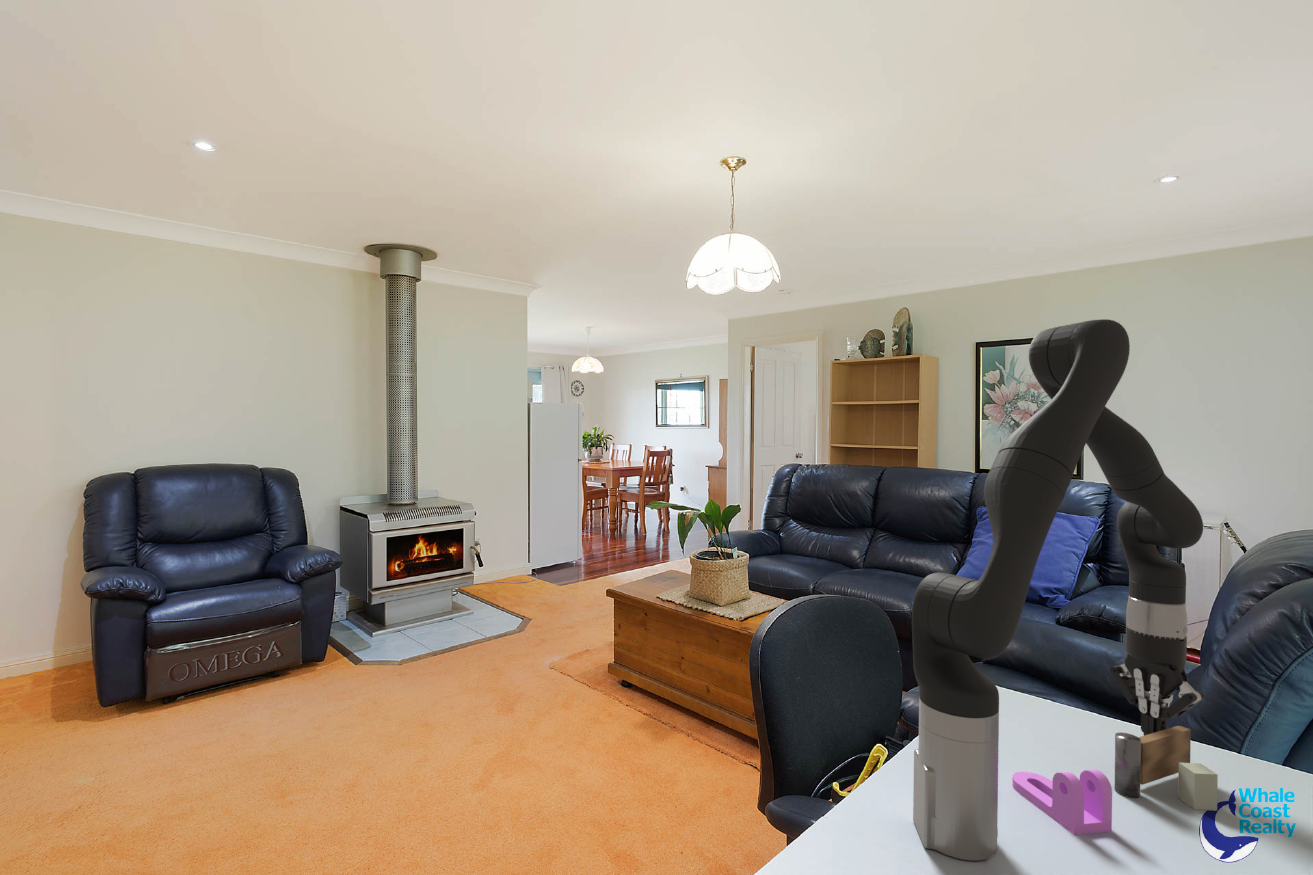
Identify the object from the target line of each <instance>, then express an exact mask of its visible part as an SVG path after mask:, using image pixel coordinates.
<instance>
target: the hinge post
mask: <svg viewBox="0 0 1313 875" xmlns="http://www.w3.org/2000/svg"><path fill="white" fill-rule="evenodd" d="M1114 735H1115V736H1114V739H1115V740H1114V791H1115V792H1116V793H1117V794H1118V795H1121V796H1123V797H1127V798H1130V799H1138V798H1140V797H1141V784H1140V766H1141V739H1140V738H1138V737H1139V736H1136V735H1134V734H1131V733H1128V732H1116V733H1115V734H1114Z"/></svg>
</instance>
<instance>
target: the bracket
mask: <svg viewBox="0 0 1313 875" xmlns="http://www.w3.org/2000/svg"><path fill="white" fill-rule="evenodd" d="M1011 776H1012V777H1011V778H1012V779H1011V780H1012V782H1011V783H1012V784H1011V785H1012V788H1013V790H1014V791H1016V792H1017V793H1018V794H1020V795H1021V796H1022V797H1023V798H1025V799H1026V800H1027V801H1029V802H1030V803H1032V805H1034V806H1036V807H1037V808H1038V809H1039V810H1041V811H1042V812H1044V813H1045V814H1046V815H1047V816H1049V817H1050V818H1052V820H1054V821H1055V822H1057V823H1058V824H1059V825H1061V826H1062V827H1064V828H1065V829H1066V830H1067V831H1069V832H1070V833H1071V834H1073V836H1074V835H1085V834H1094V833H1104V832H1112V831H1113V830H1112V828H1113V826H1112V825H1113V824H1112V823H1113V822H1112V821H1113V789H1112V785H1111V782H1110V780H1109V778H1108V777H1107V776H1106V775H1105V774H1104V773H1103V772H1102V771H1100V770H1098V769H1088V770H1087V769H1086V770H1082V772H1080V774H1079V778H1078V776H1076V775H1075V774H1074V773H1073V772H1071V771H1062V772H1056V773H1055V774H1054V775H1053V777H1052V779H1051V778H1048V777H1046V776H1044V775H1042V774H1038V773H1034V772H1029V771H1017V772H1015V773H1013V774H1012V775H1011Z"/></svg>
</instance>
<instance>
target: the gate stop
mask: <svg viewBox="0 0 1313 875" xmlns="http://www.w3.org/2000/svg"><path fill="white" fill-rule="evenodd" d="M1218 778H1219V776H1218V773H1216V772H1214V771H1213V770H1211V769H1210V768H1208V766H1205V765H1204V764H1202V763H1199V762H1198V763H1194V762H1193V763H1192V762H1190V763H1179V773H1178V780H1177V781H1178V784H1177V785H1178V786H1177V787H1178V788H1177V789H1178V791H1177V794H1178V796H1177V798H1179V800H1181V801H1182V802H1184V803H1185V804H1186V805H1188V806H1189V807H1190V808H1192V809H1193V810H1198V811H1218Z"/></svg>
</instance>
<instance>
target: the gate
mask: <svg viewBox="0 0 1313 875" xmlns="http://www.w3.org/2000/svg"><path fill="white" fill-rule="evenodd" d="M1191 732H1192V731H1191V728H1188V727H1185V726H1183V725H1177V726H1172V727H1169V728H1166V729H1165V730H1162V731H1158V732H1155V733H1151V734H1148V735H1144V734H1143V735H1141V736H1137V737H1138V738H1140V739H1141V766H1140V785H1146V784H1148V783H1152V782H1155V781H1158V780H1162V779H1164V778H1166V777H1170V776H1173V775H1176V774H1179V763H1191V741H1192V740H1191V738H1192V737H1191V736H1192V735H1191Z"/></svg>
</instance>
